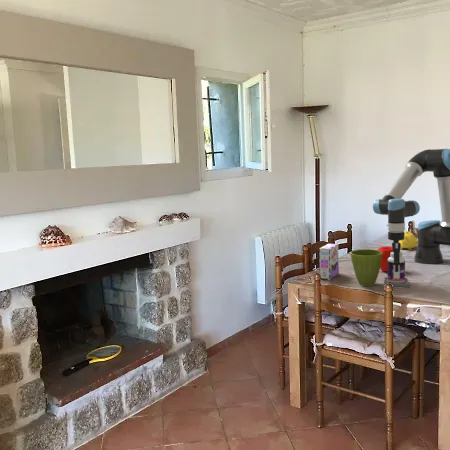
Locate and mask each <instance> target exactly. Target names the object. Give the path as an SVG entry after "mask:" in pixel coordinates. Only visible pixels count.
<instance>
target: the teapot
mask: <svg viewBox="0 0 450 450" xmlns="http://www.w3.org/2000/svg"><path fill="white" fill-rule="evenodd" d="M404 232H405V239H404V240H399V243H400V244H401V247H400V250H403V249H407V250H408V251H411V250H413V249H414V248H415V247H417V246H418V238H416V236H415V235H414V234H413V233H412V232H411V231H409V230H404Z"/></svg>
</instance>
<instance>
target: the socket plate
mask: <svg viewBox="0 0 450 450" xmlns="http://www.w3.org/2000/svg"><path fill="white" fill-rule="evenodd" d="M387 277H388V276H384V277H383V284H384V285H385V284H387V283H389V284H392V285H393V287H392V288H395V287H406V288H405V289H409V287H410V286H409V284H410V283H409V280H408V279H409V278H408V277H405V281H404V282H403V283H391V282H389V281H388V278H387ZM384 285H383V286H384ZM407 287H408V288H407Z"/></svg>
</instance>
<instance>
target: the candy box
mask: <svg viewBox="0 0 450 450" xmlns="http://www.w3.org/2000/svg"><path fill="white" fill-rule="evenodd" d="M318 250H319V252H318V254H319V257H318V260H319V261H318V263H319V264H318V266H319V272H318V273H319V276H320V275H321V277H322V279H321V280H327V281H328V280H329V281H330V280H332V279H334V278H335V277H336V276H338V275H339V271H340V270H339V269H340V266H339V263H340V262H339V244H337V243H327V244H325V245H323V246H321V247H319V248H318Z"/></svg>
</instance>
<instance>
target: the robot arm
mask: <svg viewBox="0 0 450 450" xmlns="http://www.w3.org/2000/svg"><path fill="white" fill-rule="evenodd" d="M425 172H432V174H433V177H434V178H435V179H436V180H437V181H436V182H437V188H438V197H439V205H440V213H441V221H440V220H439V219H437V220H436V219H435V220H425V221H420V222H419V223H418V224H417V239H418V243H417V249H416V251H415V254H414V258H413V259H414V260H413V261H414V262H415V263H419V264H428V265H431V264H432V265H434V264H442V263H443V262H444V257H443V253H442V251H441V247H440V246H441V245H442V246H447V247H449V246H450V148H438V149H437V148H436V149H435V148H434V149H430V148H429V149H424V150H422V151H420V152H417V153H416V154H415V155H414V156H413V157H411V158H410V159H409V160H408V162H407V163H406V164H405V166H404V170H403V171H402V173H401V174H400V175H399V176H398V178H397V179H396V180H395V182H394V183H393V184H392V185H391V187H390V188H389V189H388V191H387V192H386V193H385V194H384V196H383V197H382V198H378V199H376V200H374V202H373V204H372V210H373V212H374V213H375V214H377V215H383V216H384V215H385V216H387V219H388V220H387V224H386V227H387V230H388V232H387V239H388V240H389V241H392V242H391V247H392V249H393V253H394V263H392V265H394V278H400V254H399V253H400V252H401V249H400V247H401V244H400V243H399V240H404V239H405V231H406V227H405V223H406V222H405V218H408V217H414V216H416V215H417V214H419V212H420V208H421V206H420V204H419V203H418V201H416V200H414V199H413V200H412V199H411V200H405V199H403V197H404V195H405V194H406V193H407V192H408V190H409V188H411V186H412V185H413V183H414V182H415V181H416V179H417V178H419V177H421V176H422V175H423V173H425Z"/></svg>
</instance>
